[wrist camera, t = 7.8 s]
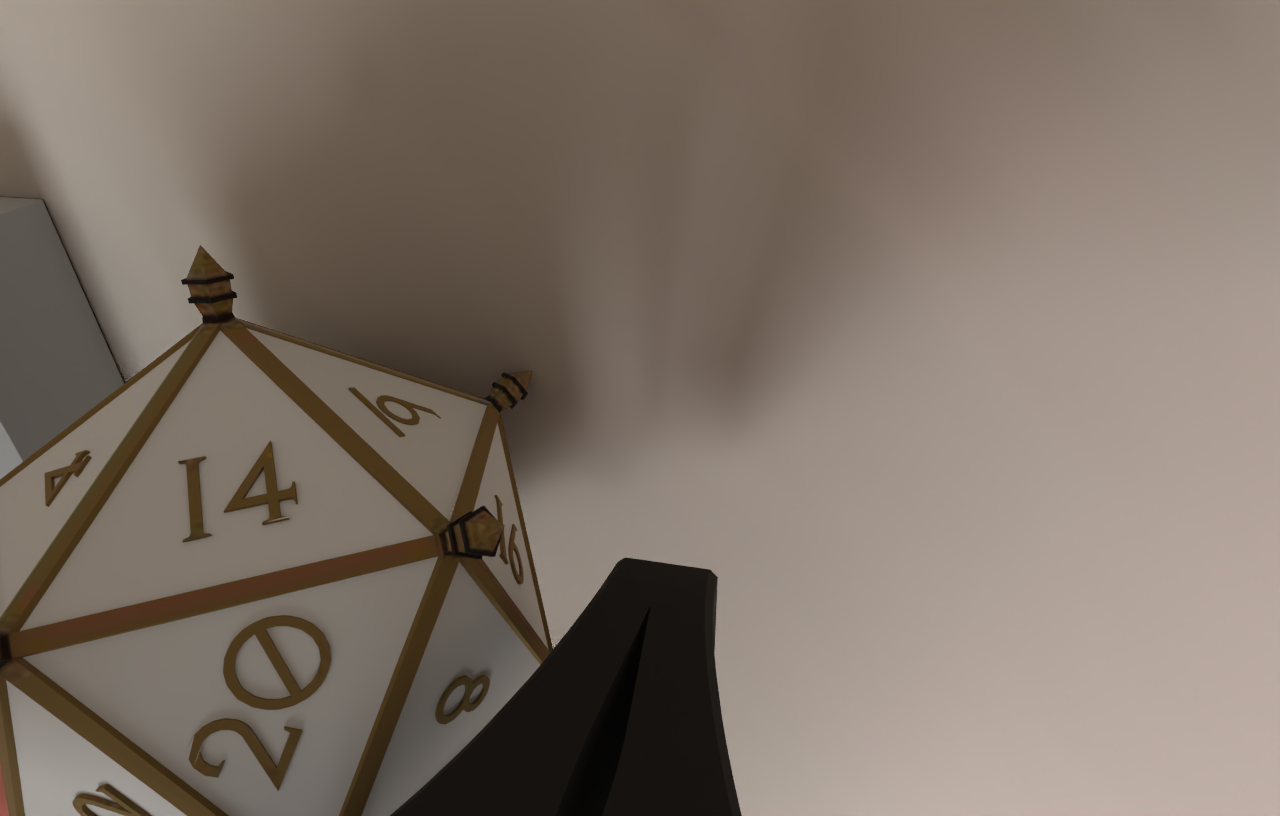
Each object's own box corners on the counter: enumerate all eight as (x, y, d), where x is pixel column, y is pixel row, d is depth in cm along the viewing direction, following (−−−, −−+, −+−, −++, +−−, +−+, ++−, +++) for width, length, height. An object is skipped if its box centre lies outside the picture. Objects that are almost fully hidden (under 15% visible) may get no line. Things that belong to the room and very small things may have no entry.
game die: (439, 270, 17) (-95, -22, 7) (744, 525, 15) (590, 611, 5) (204, 584, 17) (-582, 715, 8) (464, 869, 15) (-158, 1541, 6)
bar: (208, 572, 18) (131, 652, 16) (165, 565, 18) (84, 643, 16) (42, 199, 13) (-98, 248, 11) (-14, 195, 14) (-159, 244, 12)
